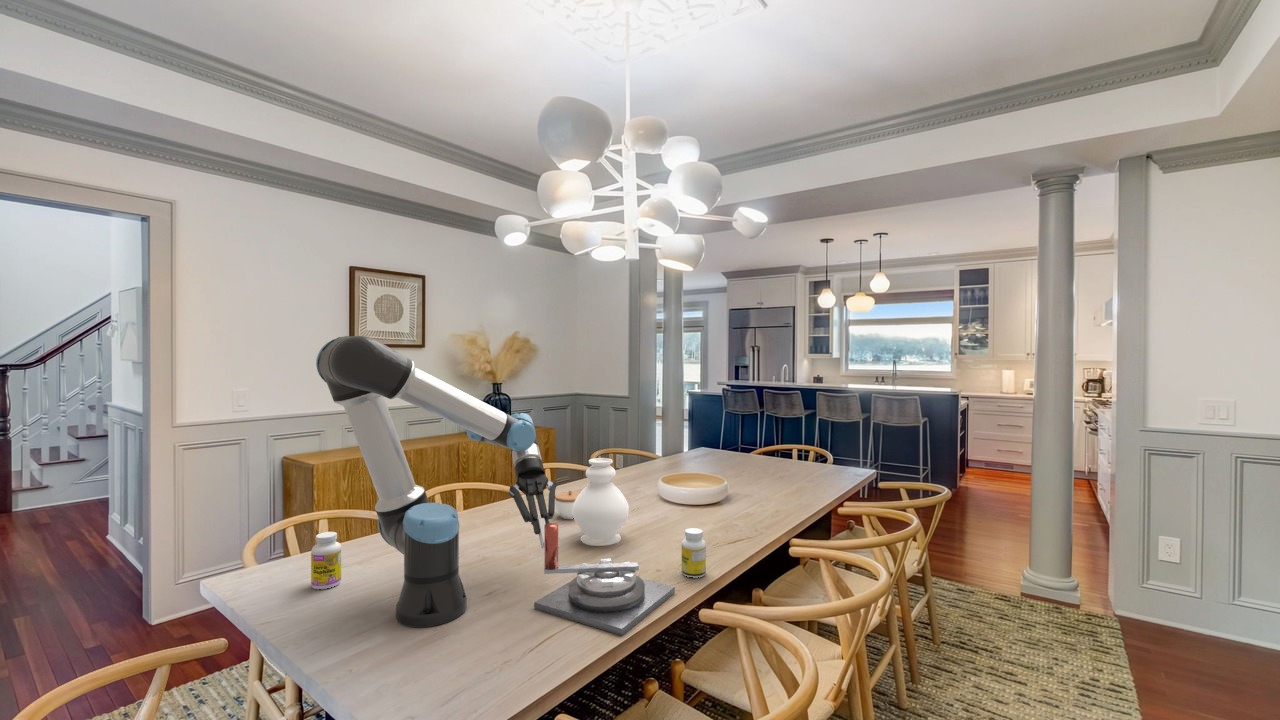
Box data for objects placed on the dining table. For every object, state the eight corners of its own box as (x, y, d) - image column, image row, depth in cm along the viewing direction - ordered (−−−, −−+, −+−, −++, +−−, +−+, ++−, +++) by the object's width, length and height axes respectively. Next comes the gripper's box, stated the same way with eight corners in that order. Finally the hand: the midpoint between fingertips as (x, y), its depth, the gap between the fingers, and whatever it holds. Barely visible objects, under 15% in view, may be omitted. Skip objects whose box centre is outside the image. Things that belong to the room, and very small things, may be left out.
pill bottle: (682, 568, 152) (682, 526, 152) (706, 570, 151) (706, 527, 151) (680, 578, 146) (680, 533, 145) (705, 579, 145) (705, 535, 144)
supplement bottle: (307, 591, 137) (307, 540, 137) (315, 581, 144) (315, 531, 143) (337, 588, 139) (337, 537, 139) (344, 578, 145) (343, 529, 145)
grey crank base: (622, 635, 116) (622, 618, 116) (534, 608, 128) (534, 592, 128) (674, 593, 137) (674, 578, 137) (594, 573, 149) (594, 559, 149)
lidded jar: (549, 519, 197) (549, 492, 197) (564, 511, 207) (564, 485, 206) (575, 522, 193) (575, 495, 192) (590, 514, 202) (590, 488, 202)
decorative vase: (635, 532, 182) (635, 456, 182) (618, 551, 165) (618, 467, 164) (584, 528, 187) (584, 453, 186) (563, 546, 170) (563, 464, 169)
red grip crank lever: (635, 571, 140) (635, 514, 140) (640, 595, 126) (640, 532, 126) (546, 574, 138) (546, 516, 138) (542, 599, 124) (541, 535, 124)
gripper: (548, 469, 156) (567, 548, 141) (501, 474, 150) (516, 556, 135) (554, 454, 151) (574, 533, 136) (506, 458, 145) (521, 541, 131)
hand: (545, 544), depth 136 cm, fingers closed
